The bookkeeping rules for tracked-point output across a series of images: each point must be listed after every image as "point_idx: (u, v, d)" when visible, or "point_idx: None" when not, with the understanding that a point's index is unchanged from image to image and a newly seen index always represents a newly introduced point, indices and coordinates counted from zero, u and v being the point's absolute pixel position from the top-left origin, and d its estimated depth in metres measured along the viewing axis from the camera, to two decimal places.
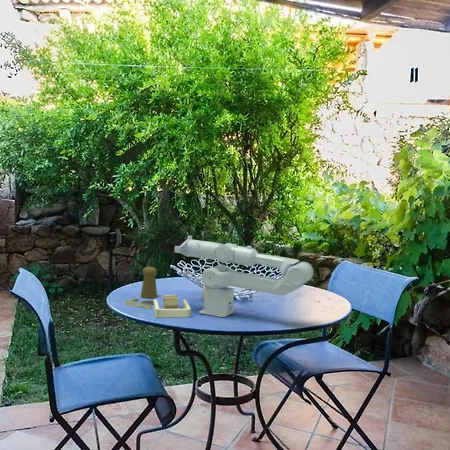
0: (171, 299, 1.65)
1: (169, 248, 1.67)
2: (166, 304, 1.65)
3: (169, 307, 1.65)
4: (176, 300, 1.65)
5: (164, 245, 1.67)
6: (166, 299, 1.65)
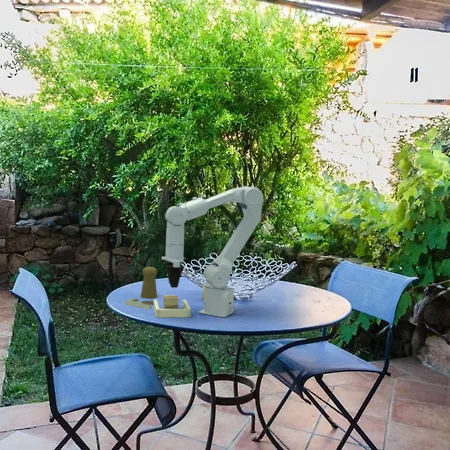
0: (171, 299, 1.65)
1: (176, 276, 1.58)
2: (166, 304, 1.65)
3: (169, 307, 1.65)
4: (176, 300, 1.65)
5: (173, 282, 1.58)
6: (165, 299, 1.65)
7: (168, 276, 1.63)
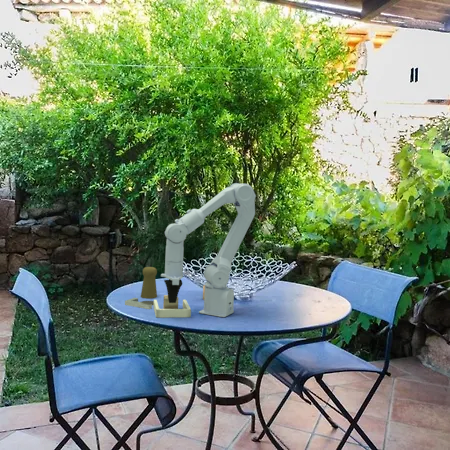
0: None
1: (174, 291, 1.61)
2: (166, 304, 1.65)
3: (169, 307, 1.65)
4: (176, 300, 1.65)
5: (171, 297, 1.61)
6: (165, 299, 1.65)
7: (168, 294, 1.62)
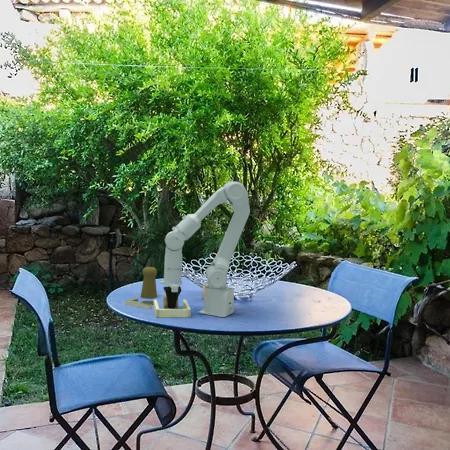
0: None
1: (173, 298, 1.63)
2: (166, 303, 1.65)
3: None
4: None
5: (171, 304, 1.63)
6: (165, 298, 1.65)
7: None
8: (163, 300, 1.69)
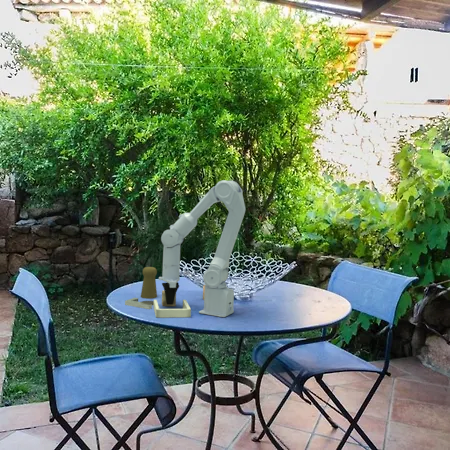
0: None
1: (171, 293, 1.69)
2: (164, 299, 1.71)
3: None
4: None
5: (169, 299, 1.69)
6: (164, 294, 1.71)
7: None
8: None
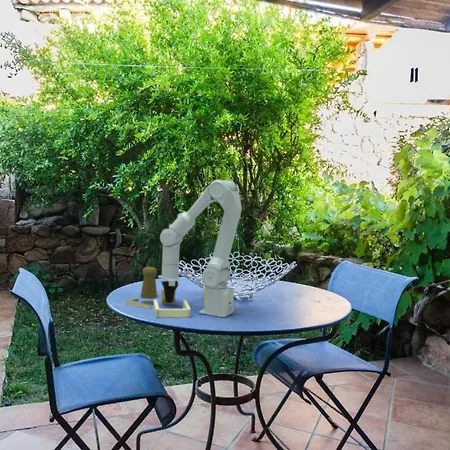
0: None
1: (171, 292, 1.72)
2: (164, 297, 1.74)
3: None
4: None
5: (168, 297, 1.72)
6: (163, 292, 1.74)
7: (165, 295, 1.72)
8: (161, 294, 1.78)
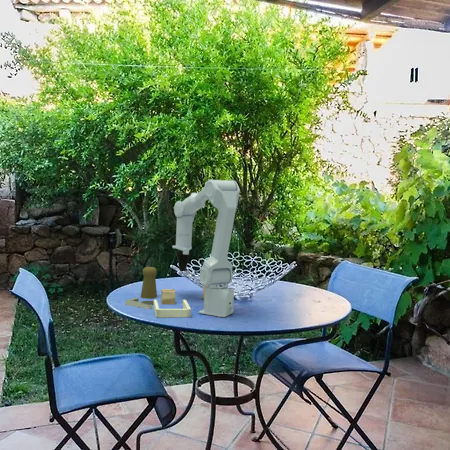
0: (168, 293, 1.74)
1: (184, 261, 1.83)
2: (164, 297, 1.74)
3: (166, 300, 1.74)
4: (173, 294, 1.74)
5: (182, 266, 1.83)
6: (163, 292, 1.74)
7: (178, 264, 1.84)
8: (161, 294, 1.78)
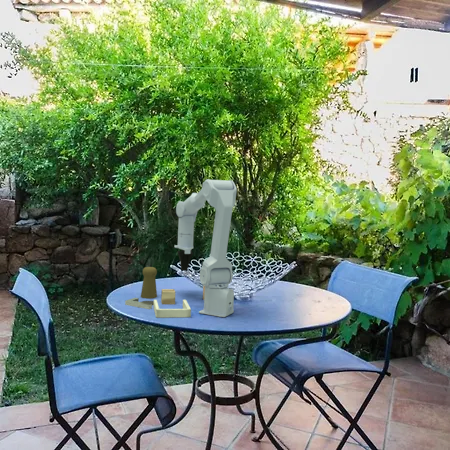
0: (168, 293, 1.74)
1: (186, 260, 1.85)
2: (164, 297, 1.74)
3: (166, 300, 1.74)
4: (173, 294, 1.74)
5: (183, 265, 1.85)
6: (163, 292, 1.74)
7: (180, 263, 1.86)
8: (161, 294, 1.78)
